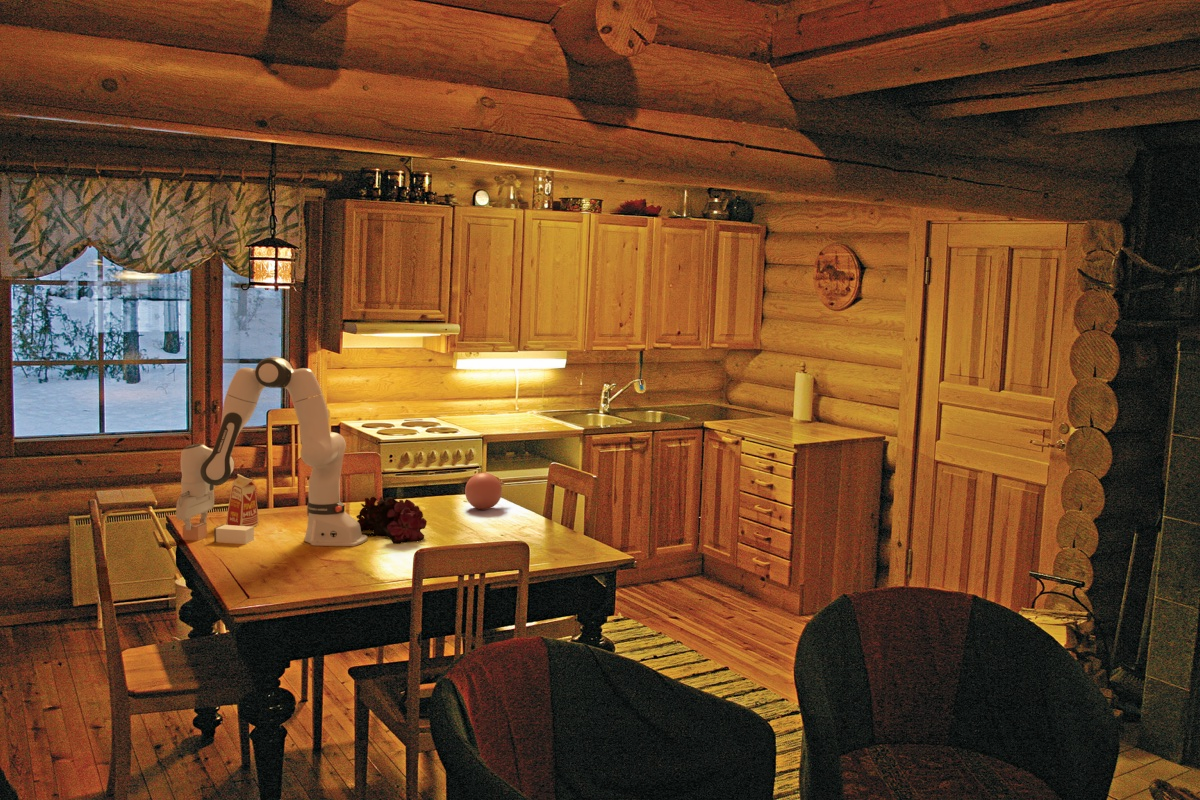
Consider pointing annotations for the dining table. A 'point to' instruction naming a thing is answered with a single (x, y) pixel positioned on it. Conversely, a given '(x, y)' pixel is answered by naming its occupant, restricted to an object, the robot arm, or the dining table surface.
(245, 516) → the milk carton
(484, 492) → the balloon
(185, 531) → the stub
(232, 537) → the cream rectangular block
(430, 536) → the dining table surface
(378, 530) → the flower arrangement
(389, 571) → the dining table surface
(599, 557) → the dining table surface
